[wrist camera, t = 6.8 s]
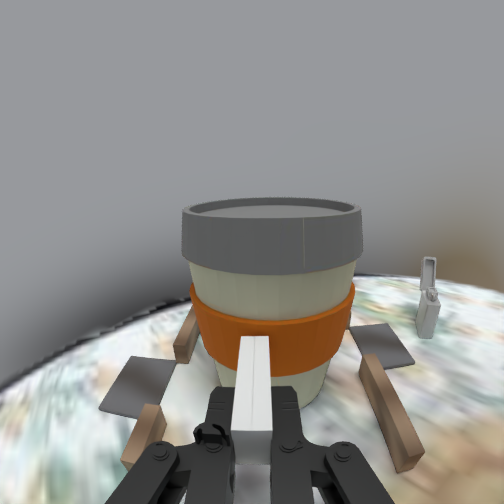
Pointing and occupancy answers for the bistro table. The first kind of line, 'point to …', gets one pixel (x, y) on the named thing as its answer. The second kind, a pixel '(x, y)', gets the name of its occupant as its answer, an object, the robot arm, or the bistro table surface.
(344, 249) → the reusable coffee cup
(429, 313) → the lighter
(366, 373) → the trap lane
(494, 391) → the bistro table surface
